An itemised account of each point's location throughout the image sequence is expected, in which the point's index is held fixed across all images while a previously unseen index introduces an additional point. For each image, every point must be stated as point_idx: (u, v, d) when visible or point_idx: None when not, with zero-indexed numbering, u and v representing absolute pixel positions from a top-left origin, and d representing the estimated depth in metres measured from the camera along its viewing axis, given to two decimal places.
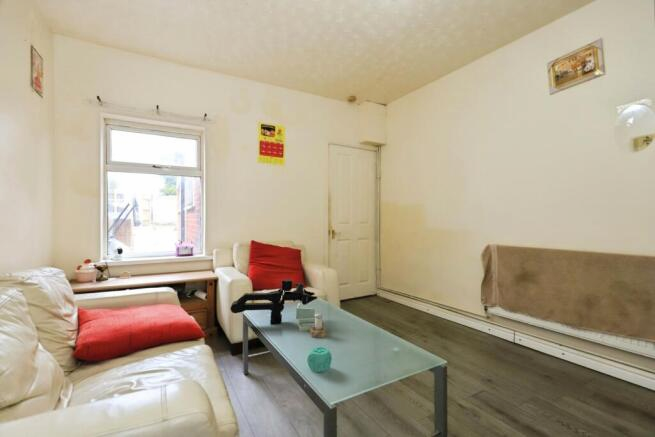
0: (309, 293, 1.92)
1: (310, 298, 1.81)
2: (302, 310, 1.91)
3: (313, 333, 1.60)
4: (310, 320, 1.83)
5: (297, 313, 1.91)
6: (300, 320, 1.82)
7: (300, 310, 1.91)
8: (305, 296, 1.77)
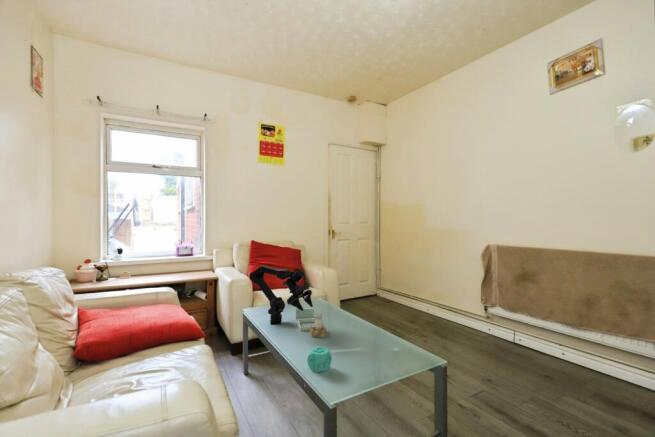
0: (309, 301, 1.75)
1: (297, 304, 1.67)
2: None
3: (313, 333, 1.60)
4: (310, 320, 1.83)
5: (297, 313, 1.91)
6: (300, 320, 1.82)
7: (300, 310, 1.91)
8: (292, 298, 1.64)
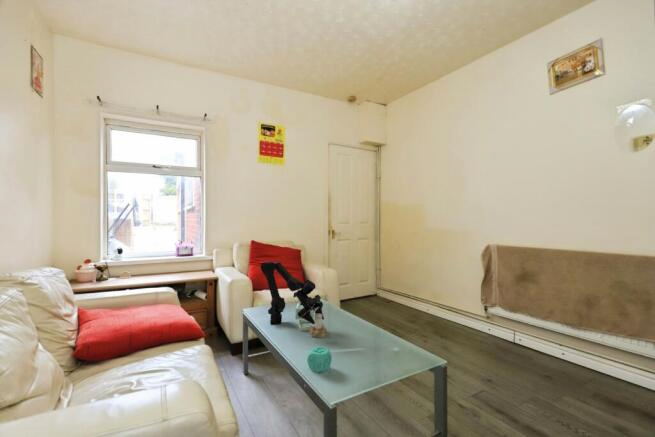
0: None
1: (308, 317, 1.62)
2: None
3: (313, 333, 1.60)
4: None
5: (296, 313, 1.91)
6: (300, 320, 1.82)
7: (299, 310, 1.91)
8: (303, 311, 1.60)
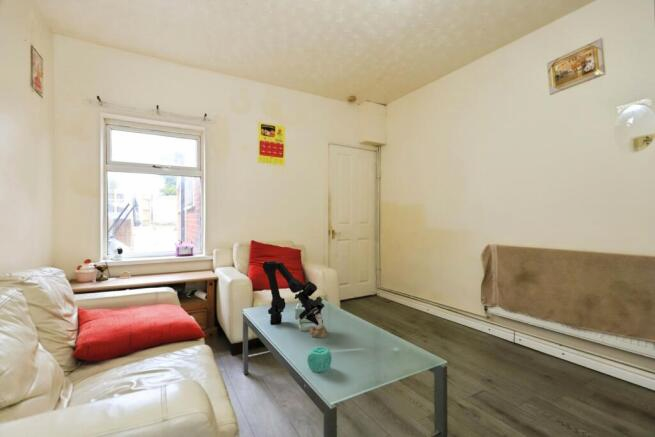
0: None
1: (312, 318, 1.63)
2: (301, 310, 1.91)
3: (313, 333, 1.60)
4: None
5: (296, 313, 1.91)
6: (300, 320, 1.82)
7: (299, 310, 1.91)
8: (305, 313, 1.59)
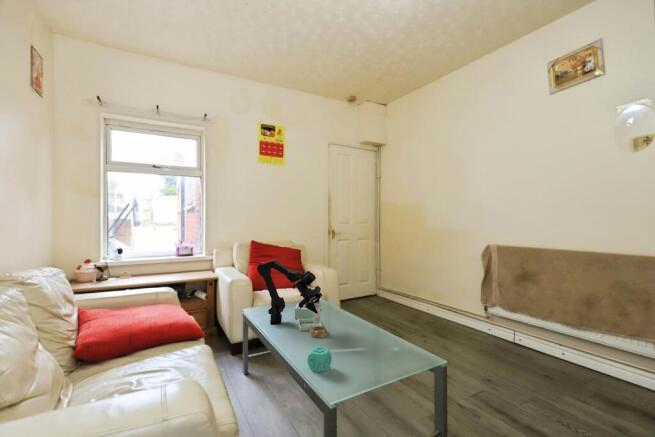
0: None
1: (311, 307, 1.66)
2: (301, 310, 1.90)
3: (313, 333, 1.60)
4: (310, 320, 1.83)
5: (296, 313, 1.90)
6: (300, 320, 1.82)
7: (299, 310, 1.90)
8: (304, 302, 1.61)
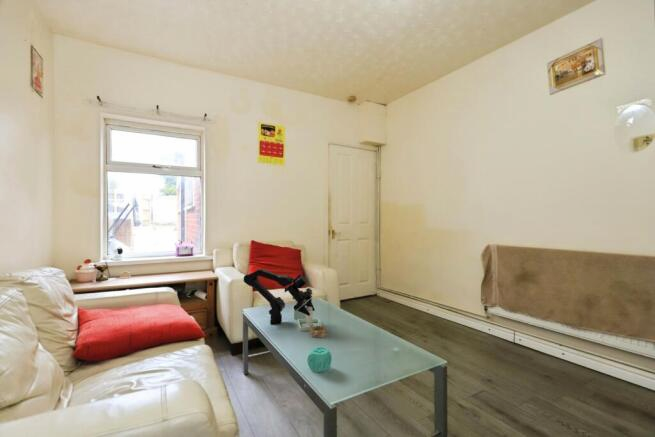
0: (311, 306, 1.82)
1: (303, 310, 1.72)
2: None
3: (313, 333, 1.60)
4: None
5: (295, 313, 1.90)
6: (300, 320, 1.82)
7: None
8: (300, 304, 1.69)
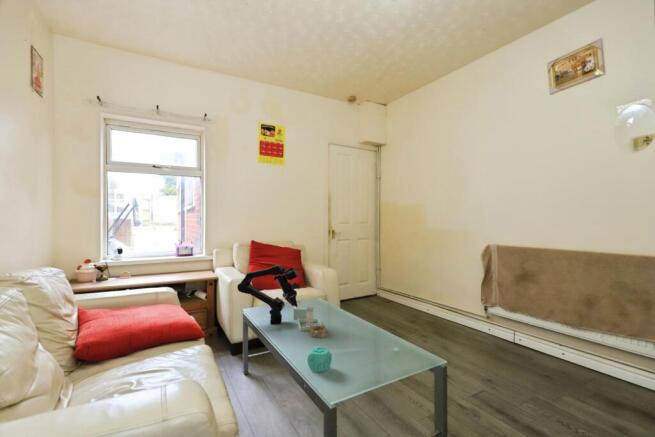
0: None
1: (293, 300, 1.76)
2: (299, 310, 1.90)
3: (313, 333, 1.60)
4: None
5: (294, 314, 1.90)
6: (300, 320, 1.82)
7: (297, 311, 1.90)
8: (295, 292, 1.74)
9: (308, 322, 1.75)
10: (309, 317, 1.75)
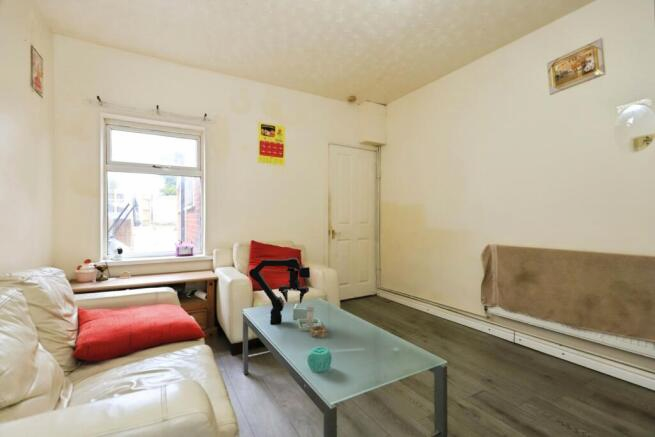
0: (287, 296, 1.84)
1: (302, 296, 1.81)
2: (299, 310, 1.90)
3: (313, 333, 1.60)
4: None
5: (294, 314, 1.90)
6: (300, 320, 1.82)
7: (297, 311, 1.90)
8: (308, 289, 1.82)
9: (308, 322, 1.75)
10: (309, 317, 1.75)
